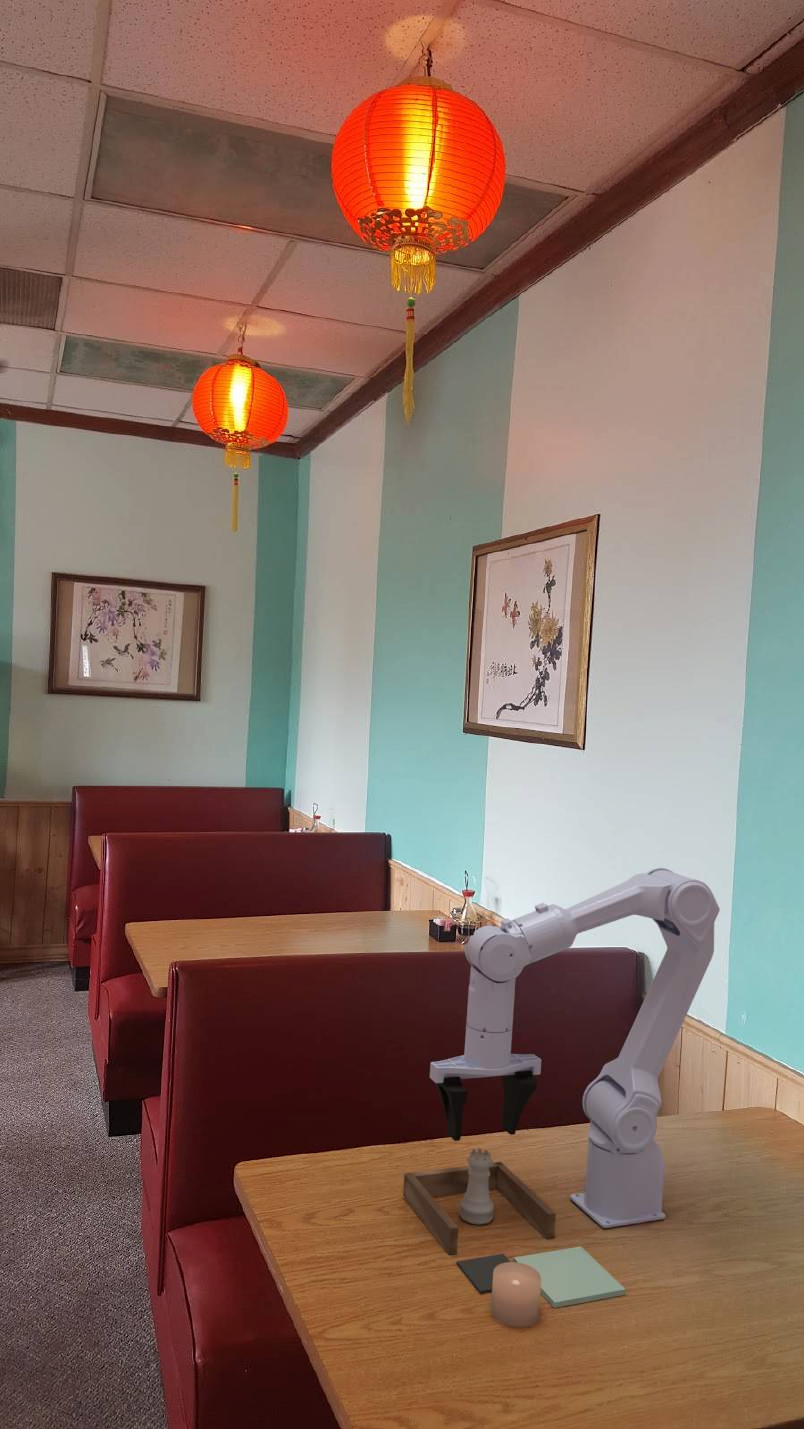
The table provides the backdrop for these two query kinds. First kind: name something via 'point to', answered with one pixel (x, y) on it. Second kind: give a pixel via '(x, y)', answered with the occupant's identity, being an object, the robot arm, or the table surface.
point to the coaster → (571, 1277)
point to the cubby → (455, 1181)
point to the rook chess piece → (477, 1190)
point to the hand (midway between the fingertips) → (481, 1134)
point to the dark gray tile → (481, 1270)
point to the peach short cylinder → (515, 1294)
